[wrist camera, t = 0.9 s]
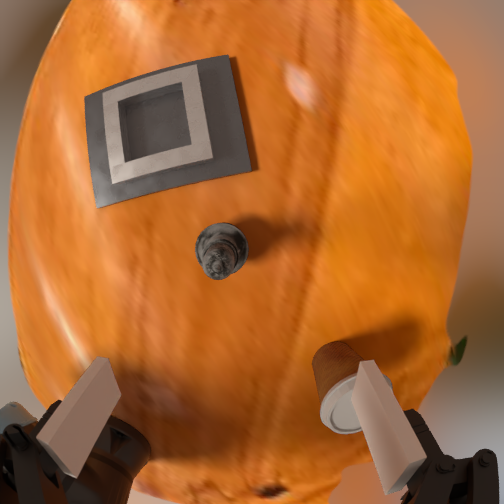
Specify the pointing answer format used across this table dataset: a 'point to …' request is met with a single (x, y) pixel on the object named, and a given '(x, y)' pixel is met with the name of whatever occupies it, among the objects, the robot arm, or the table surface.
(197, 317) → the table surface
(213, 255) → the dark grey chess piece
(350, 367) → the disposable coffee cup
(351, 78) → the table surface
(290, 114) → the table surface
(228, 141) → the collar plate
